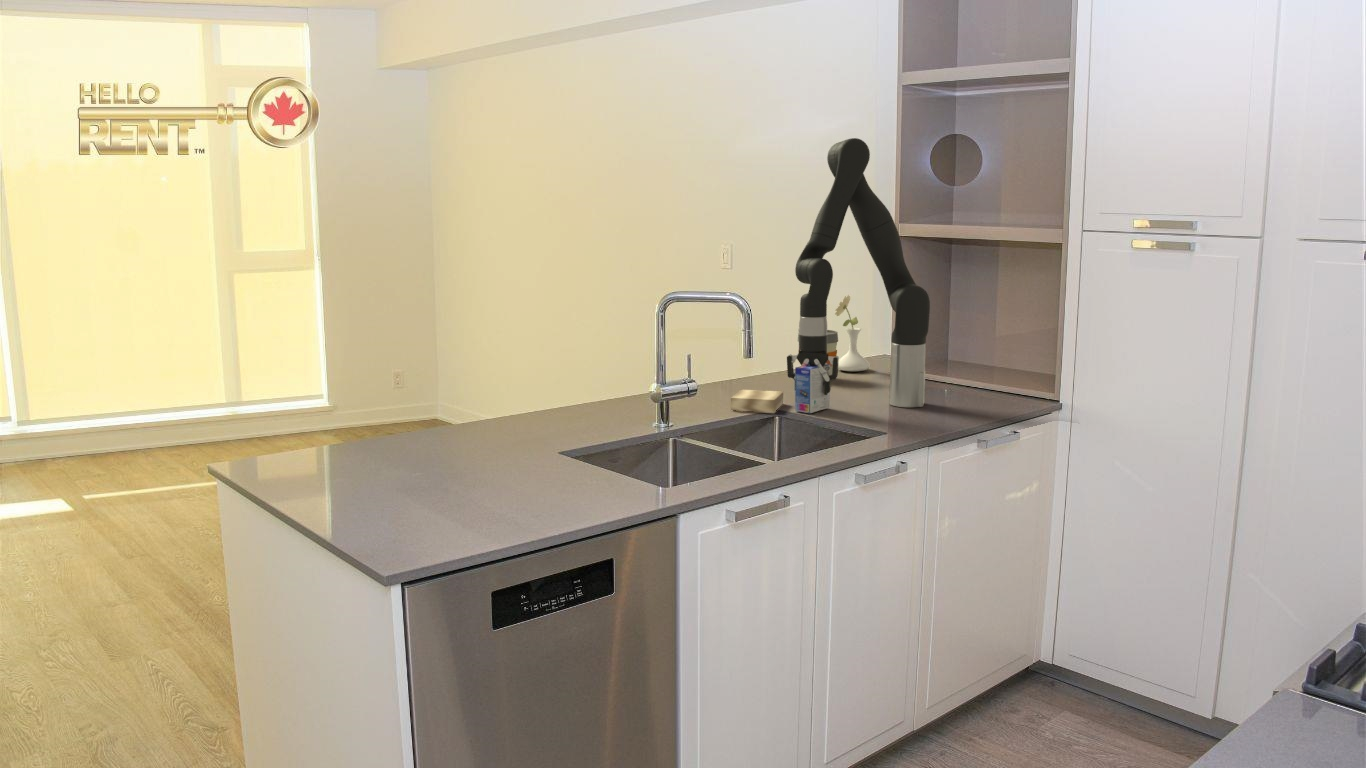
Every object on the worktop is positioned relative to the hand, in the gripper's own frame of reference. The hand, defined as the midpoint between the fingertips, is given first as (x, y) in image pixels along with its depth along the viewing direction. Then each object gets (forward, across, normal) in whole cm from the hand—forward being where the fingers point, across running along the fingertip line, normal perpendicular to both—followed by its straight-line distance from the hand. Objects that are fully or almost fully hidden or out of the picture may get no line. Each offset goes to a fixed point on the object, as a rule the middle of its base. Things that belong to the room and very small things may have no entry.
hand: (812, 393), depth 283 cm
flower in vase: (+5, -2, -63) cm, 63 cm away
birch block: (+5, +15, 0) cm, 16 cm away
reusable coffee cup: (+5, +6, -45) cm, 46 cm away
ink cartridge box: (+5, 0, 0) cm, 5 cm away
